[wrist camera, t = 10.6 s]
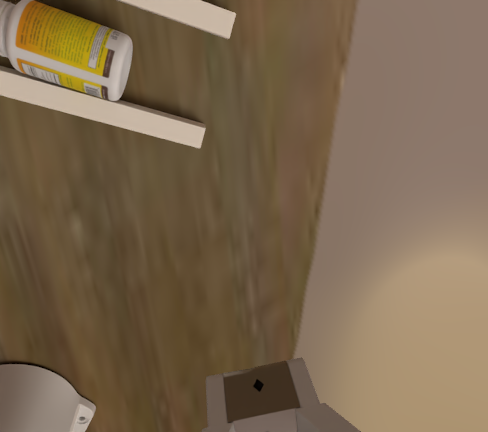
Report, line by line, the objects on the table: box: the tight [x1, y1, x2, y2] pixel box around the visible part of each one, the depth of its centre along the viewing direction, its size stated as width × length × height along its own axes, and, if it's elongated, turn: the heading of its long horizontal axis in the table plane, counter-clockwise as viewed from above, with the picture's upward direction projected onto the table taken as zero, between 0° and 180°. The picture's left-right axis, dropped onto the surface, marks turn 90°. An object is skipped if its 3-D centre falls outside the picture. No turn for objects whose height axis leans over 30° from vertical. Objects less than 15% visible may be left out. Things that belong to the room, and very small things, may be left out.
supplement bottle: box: [0, 0, 133, 101], centre depth 29 cm, size 6×6×10 cm
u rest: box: [0, 0, 236, 148], centre depth 31 cm, size 12×22×3 cm, turn 72°
